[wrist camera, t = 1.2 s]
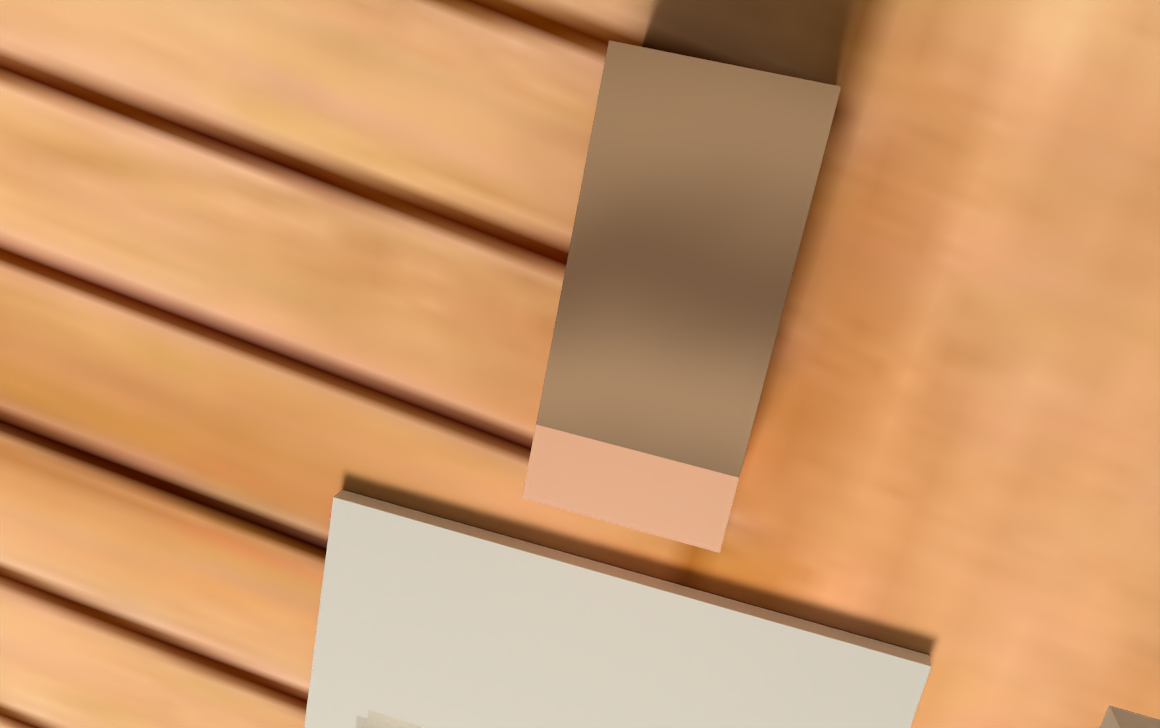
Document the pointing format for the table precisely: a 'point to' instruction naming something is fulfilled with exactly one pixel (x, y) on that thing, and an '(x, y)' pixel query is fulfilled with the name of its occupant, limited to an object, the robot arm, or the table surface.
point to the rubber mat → (567, 642)
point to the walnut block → (674, 289)
